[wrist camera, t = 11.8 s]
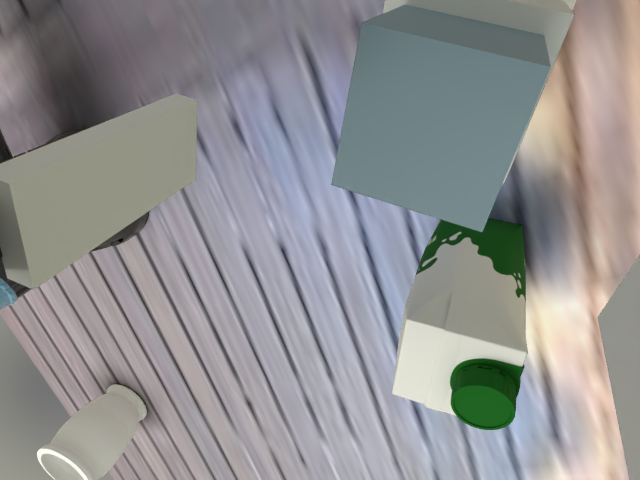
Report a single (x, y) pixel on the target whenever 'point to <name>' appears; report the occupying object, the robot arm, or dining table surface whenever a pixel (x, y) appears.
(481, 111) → the slate block
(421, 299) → the milk carton
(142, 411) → the jar
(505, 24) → the tower top
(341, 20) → the dining table surface
